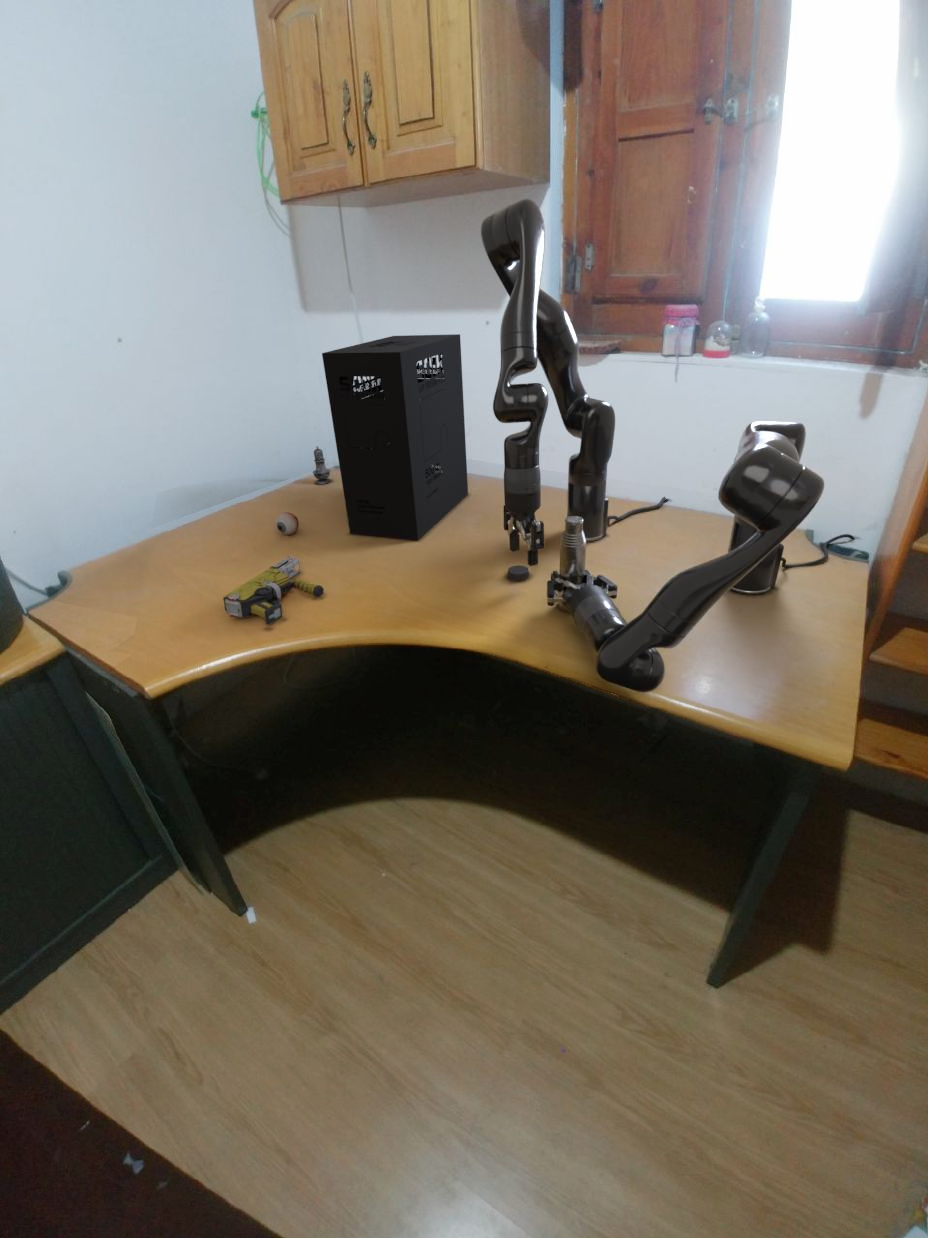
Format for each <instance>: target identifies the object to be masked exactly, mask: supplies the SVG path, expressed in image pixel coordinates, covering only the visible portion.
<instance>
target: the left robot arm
mask: <svg viewBox="0 0 928 1238" xmlns="http://www.w3.org/2000/svg"><path fill="white" fill-rule="evenodd" d="M480 238H481V243H482V246H483V249H484V252H485V253H486V256H487V259H488V261H489V262H490V264H491V267H492V268H493V270H494V272H495V274H496V275H497V277H498V279H499V281H500V283H501V284H502V286H503V288H504V289H505V291H506V293H507V295H508V296H509V299H508V302H507V305H506V307H505V309H504V312H503V315H502V319H501V324H500V330H499V340H500V341H499V342H500V344H499V345H500V369H499V376H498V381H497V385H496V389H495V393H494V397H493V401H492V410H493V411H492V412H493V415H494V416H495V418H496V420H497V421H498V422H499V423H501V424H515V423H516V424H517V423H529V424H528V426H527V427H526V428H525V429H524V430H521V431H518V432H515V433H512V434H509V435H507V436H506V437H505V438H504V441H503V458H504V459H503V460H504V463H503V464H504V469H503V490H504V491H503V492H504V493H503V494H504V495H503V496H504V505H503V530H504V531H506V532H507V535H508V536H509V537H508V539H509V540H508V541H509V542H508V543H509V551H510V552H512V553H514V552H518V551H520V550H521V549H520V548H521V544H520V543H521V541H520V536H521V540H522V541H523V542H525V544H526V548H527V550H526V551H527V553H526V554H527V557H526V558H527V559H526V560H527V566H529V567H533V566H537V565H538V564H539V550H543V549H545V523H544V520H537V519H536V514H535V513H536V512H537V511H538V510H539V509H540V508H541V502H542V497H541V496H542V495H541V491H542V490H541V489H542V488H541V486H542V485H541V483H542V482H541V481H542V480H541V478H542V477H541V470H540V469H541V468H540V441H541V433H542V430H543V429H542V428H543V425H544V421H545V417H546V414H547V410H548V408H549V407H548V406H549V394H548V391H547V388H546V387H545V386H544V385H543V384H542V383H540V382H528V383H513V381H514V380H515V379H516V378H518V377H520V376H523V375H526V374H529V373H532V372H533V371H535V370H536V368H537V366H538V362H539V364H540V366H541V369H542V371H543V373H544V376H545V378H546V380H547V383H548V384H549V386H550V388H551V391H552V393H553V396H554V399H555V401H556V405H557V409H558V411H559V415H560V418H561V421H562V424H563V425H564V428H565V430H566V431H567V432H568V434H569V435H571V436H572V437H574V438H577V439H580V448H579V452H577V453H574V454H572V455H570V456H569V459H568V468H567V469H568V473H567V501H566V502H567V503H566V518H567V517H569V516H579V517H582V518H583V520H584V521H583V531H584V536H585V538H586V542H594V541H599V540H600V539H602V538H604V536H607V530H608V529H607V528H608V527H610V521H611V520H615V521H622V520H624V519H626V518H628V517H629V516H631V515H633V514H636V513H640V512H647V511H652V510H656V509H658V508H660V507H661V506H662V505H663V504H664V502H669V498H667V499H666V498H665V497H666V496H663V497H662V498H661V499H660V501H659V502H658V503H657V504H654V505H651V506H644V507H639V508H635V509H632V510H630V511H627V512H626V513H624V514H623V515H620V516H617V515H608V514H609V498H607V497H606V493H607V477H608V465H609V461H610V459H611V457H612V454H613V448H614V439H615V430H616V413H615V410H614V407H613V405H611V404H610V403H609V402H607V401H605V400H601V399H597V398H593V397H592V398H591V397H590V396H589V394H588V393H587V391H586V389H585V386H584V385H583V382H582V380H581V378H580V374H579V357H580V345H579V344H580V343H579V339H578V335H577V332H576V330H575V328H574V325H573V323H572V320H571V318H570V316H569V313H568V311H567V309H565V308H564V306H563V305H562V304H561V303H559V302H558V301H557V299H555V298H553V297H552V296H551V295H549V293H546V292H545V291H544V290H543V289H541V282H542V274H543V264H544V256H545V255H544V254H545V245H546V228H545V220H544V217H543V213H542V212H541V209H540V207H539V206H538V205H537V203H536V202H535V201H534V200H532V199H531V198H523V199H519V200H517V201H515V202H513V203H511V204H508V205H507V206H505V207H503V208H500V209H499V210H497V211H494V212H492V213H490V214H489V215H487V216H486V217H485V218H484V219H482V221H481V224H480ZM512 383H513V384H512ZM665 499H666V500H665Z"/></svg>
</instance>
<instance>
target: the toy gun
mask: <svg viewBox="0 0 928 1238" xmlns="http://www.w3.org/2000/svg"><path fill="white" fill-rule="evenodd" d="M300 561H301V560H300V559H299V558H297V557H294V558H293V557H292V556H288V557H287V558H284V559H283V560H282V561H280V562H278V563H277V564H275V565H274V566H270V567H269V568H267V569H266V570H263V571H262V572H260V573H259V574H257V575H256V576H254V577H252V578H251V579H249V580H248V581H246V582H245V583H243V584H241V585H240V586H238V587H237V588H235V589H233V590H232V591H230V592H228V593H227V594H225V595H224V596H223V597H222V601H223V607H224V611H225V612H226V614H227V615H229V617H230V618H233V619H238V618H245V619H246V618H250V617H253V616H258V617H261V618H262V619H264V620H265V624H266V625H268V626H269V625H271V624H273V623H275V622H276V621H279V620H281V619H282V618H283V617H284V616H283V607H282V603H280V601H281V600H282V595H283V594H286V593H287V592H290V591H291V590H293V589H296V590H299V591H301V592H304V593H307V594H309V595H313V596H314V597H316V598H321V596H322V595H323V594H324V587H323V586H322V585H319V584H315V583H312V582H310V581H307V580H304V579H302V578H298V577H297V578H296V579H294V581H292V580H291V578H294V577H295V576H296V575H297V574H299V573H300V572H301V562H300ZM297 565H298V569H296V568H295V567H296V566H297Z"/></svg>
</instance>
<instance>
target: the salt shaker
mask: <svg viewBox="0 0 928 1238" xmlns="http://www.w3.org/2000/svg"><path fill="white" fill-rule="evenodd" d="M313 455H314V460H313V461H314V463H315V470H313V471H312V474H313V476H314V478H315V479H316V481H315V483H314V484H316V485H325V484H329V483H331V482H332V480H331V479H330V478H329V477H330V472H331V469H329V468H327V467H326V464H325V463H326V462H325V461H326V458H324V453H323V450H322V448H319V446H316V448H315V449H314V450H313Z"/></svg>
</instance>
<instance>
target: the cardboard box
mask: <svg viewBox="0 0 928 1238" xmlns="http://www.w3.org/2000/svg"><path fill="white" fill-rule="evenodd" d="M321 356H322V362H323V363H322V364H323V368H324V369H323V370H324V376H325V381H326V382H325V383H326V388H327V395H328V403H329V407H330V413H331V420H332V426H333V433H334V440H335V445H336V452H337V459H338V464H339V466H338V467H339V472H340V477H341V486H342V491H343V497H344V504H345V511H346V517H347V522H348V523H347V524H348V529H349V534H352V535H363V536H371V537H381V538H391V539H401V540H411V541H419V540H420V539H421V538H423V537H424V536H425V535H426V534H427V533H428V532H429V531H430V530H432V528H433V527H434V526H435V525H436V524H438V522H440V520H442V519H443V518H444V517H445V516H446V515H448V513H450V512H451V511H452V510H453V509H454V508H455V507H456V506H457V505H458V504H459V503H461V501H462V500H464V498H466V497H467V496H468V495H469V486H468V465H467V464H468V463H467V444H466V425H465V406H464V405H465V403H464V385H463V364H462V344H461V334H459V333H458V334H415V335H414V334H413V335H411V334H410V335H392V336H387V337H383V338H379V339H376V340H370V341H366V342H362V343H358V344H354V345H350V346H345V347H341V348H338V349H333V350H330V351H325V352H322V353H321ZM425 360H426V363H425ZM437 360H438V363H439V366H438V363H437ZM420 362H421V364H420ZM430 364H431V365H430ZM355 377H356V378H355ZM368 377H369V379H368ZM372 377H373V378H372ZM359 378H360V380H359ZM364 378H365V379H364Z"/></svg>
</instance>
